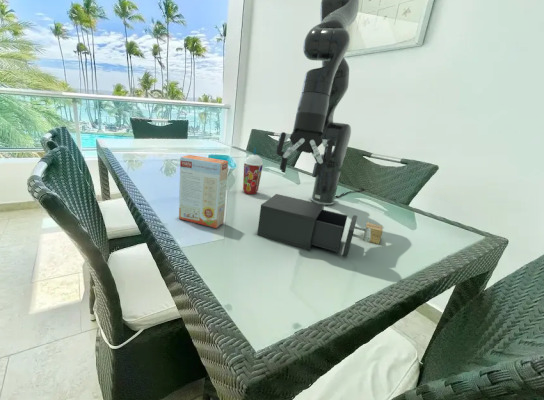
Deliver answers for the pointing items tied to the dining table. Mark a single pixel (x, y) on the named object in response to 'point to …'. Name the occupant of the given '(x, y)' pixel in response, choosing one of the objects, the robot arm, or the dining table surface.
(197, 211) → the cracker box
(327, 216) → the drawer
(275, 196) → the cabinet
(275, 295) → the dining table surface
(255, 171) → the smoothie
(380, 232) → the block
